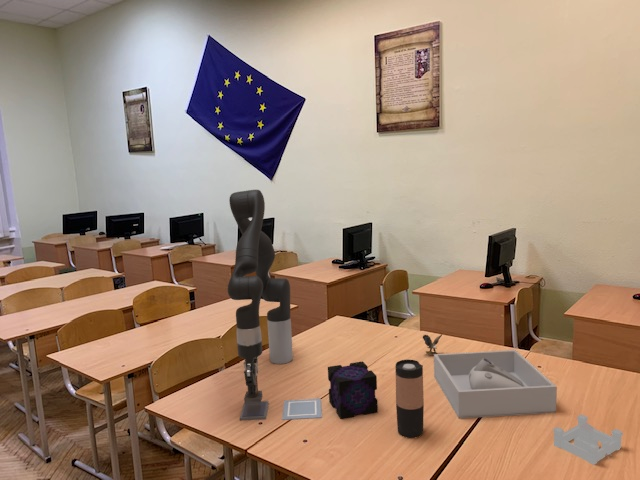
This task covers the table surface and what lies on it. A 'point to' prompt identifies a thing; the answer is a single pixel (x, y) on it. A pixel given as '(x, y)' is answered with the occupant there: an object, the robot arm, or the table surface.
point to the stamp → (253, 399)
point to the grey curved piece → (491, 377)
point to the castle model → (587, 441)
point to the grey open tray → (497, 401)
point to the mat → (302, 409)
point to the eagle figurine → (431, 344)
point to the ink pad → (254, 411)
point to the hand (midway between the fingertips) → (253, 392)
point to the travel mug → (409, 398)
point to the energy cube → (352, 390)
